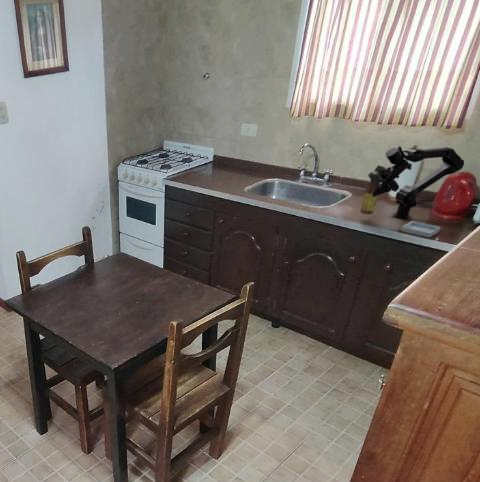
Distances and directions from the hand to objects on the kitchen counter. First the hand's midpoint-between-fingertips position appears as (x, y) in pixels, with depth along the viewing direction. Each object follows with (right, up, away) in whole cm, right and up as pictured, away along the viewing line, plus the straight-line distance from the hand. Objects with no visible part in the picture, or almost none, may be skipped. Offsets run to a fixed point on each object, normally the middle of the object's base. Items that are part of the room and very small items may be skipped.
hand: (368, 194), depth 242 cm
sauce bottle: (+2, -8, +6) cm, 10 cm away
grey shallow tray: (+20, -21, -9) cm, 31 cm away
